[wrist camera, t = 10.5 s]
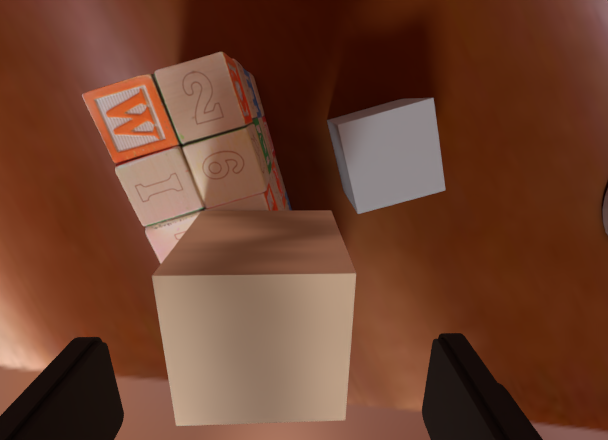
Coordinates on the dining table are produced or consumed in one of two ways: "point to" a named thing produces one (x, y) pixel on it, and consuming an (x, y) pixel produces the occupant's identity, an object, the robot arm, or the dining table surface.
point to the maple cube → (257, 318)
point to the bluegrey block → (388, 153)
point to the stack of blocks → (189, 145)
